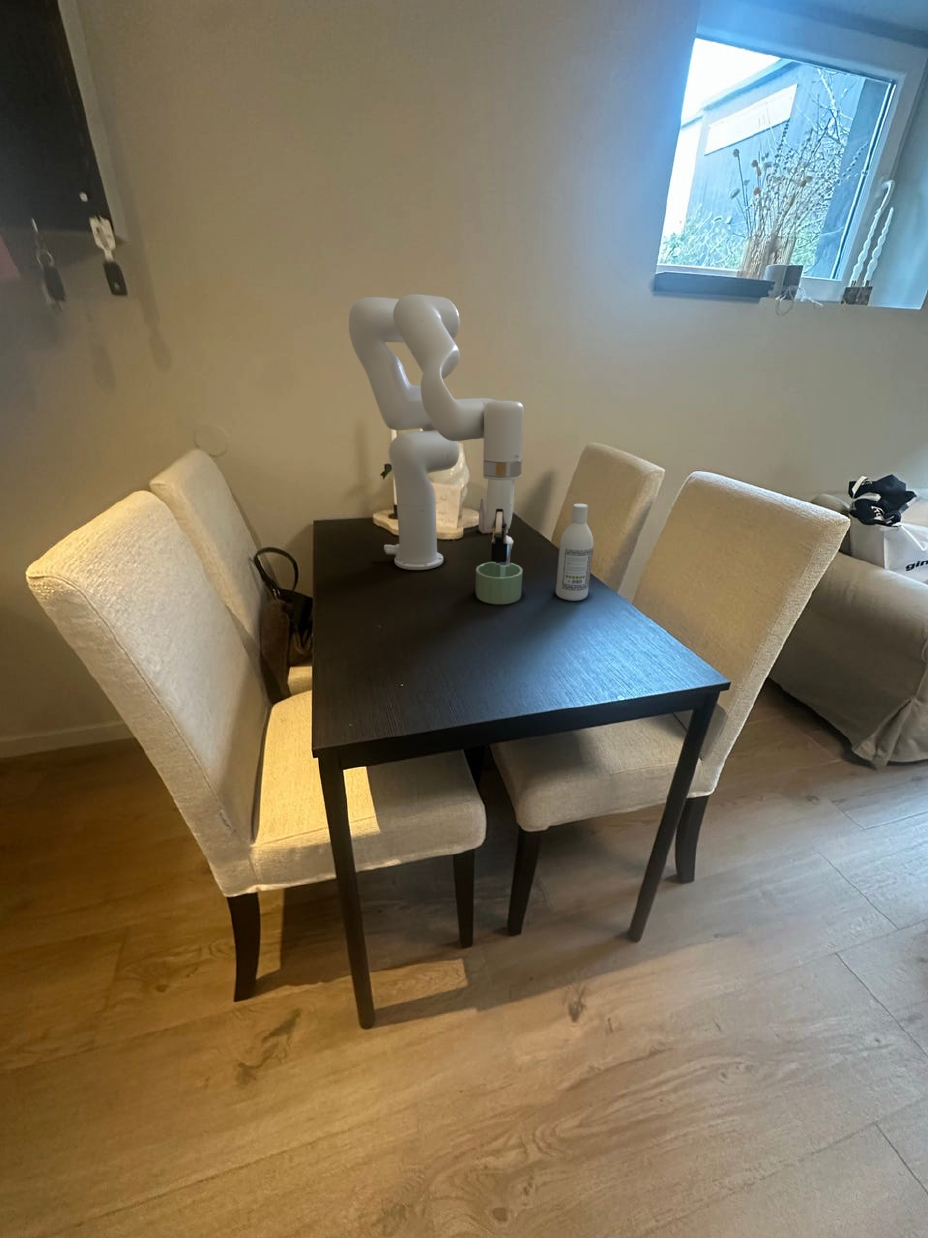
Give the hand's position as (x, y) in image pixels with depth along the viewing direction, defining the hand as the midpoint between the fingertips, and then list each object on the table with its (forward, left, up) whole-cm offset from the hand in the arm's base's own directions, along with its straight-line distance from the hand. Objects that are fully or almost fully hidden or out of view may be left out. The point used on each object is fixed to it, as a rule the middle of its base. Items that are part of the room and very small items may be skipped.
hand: (500, 556), depth 106 cm
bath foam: (+16, +2, -9) cm, 19 cm away
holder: (0, 0, -9) cm, 9 cm away
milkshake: (0, 0, -5) cm, 5 cm away
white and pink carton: (-6, +48, -9) cm, 49 cm away
